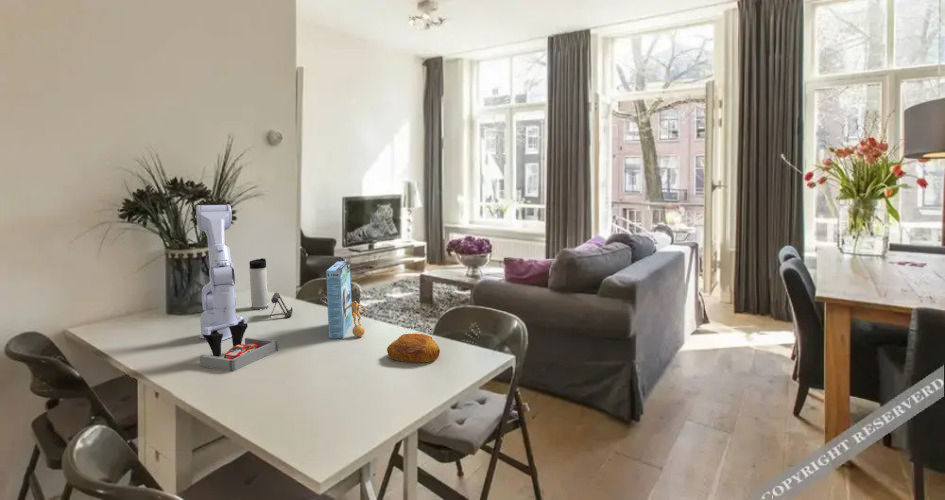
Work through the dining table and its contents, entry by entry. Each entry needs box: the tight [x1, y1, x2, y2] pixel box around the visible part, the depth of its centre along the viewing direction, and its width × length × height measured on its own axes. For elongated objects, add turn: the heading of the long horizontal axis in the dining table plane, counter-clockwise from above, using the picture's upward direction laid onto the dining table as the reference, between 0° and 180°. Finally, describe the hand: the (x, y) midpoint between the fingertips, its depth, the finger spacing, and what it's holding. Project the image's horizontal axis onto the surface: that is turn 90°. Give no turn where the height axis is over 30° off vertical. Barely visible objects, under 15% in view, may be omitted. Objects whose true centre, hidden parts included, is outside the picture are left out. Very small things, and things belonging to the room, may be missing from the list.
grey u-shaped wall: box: [198, 336, 279, 373], centre depth 148 cm, size 12×18×3 cm, turn 161°
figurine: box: [345, 300, 368, 338], centre depth 169 cm, size 8×6×12 cm
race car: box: [223, 343, 259, 359], centre depth 149 cm, size 13×5×4 cm, turn 171°
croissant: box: [386, 333, 441, 363], centre depth 150 cm, size 14×16×8 cm
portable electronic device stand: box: [269, 292, 293, 319], centre depth 193 cm, size 9×8×8 cm
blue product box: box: [325, 260, 353, 339], centre depth 174 cm, size 20×5×23 cm, turn 4°
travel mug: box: [248, 257, 269, 311], centre depth 204 cm, size 6×7×20 cm
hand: (227, 351), depth 149 cm, fingers open, 7 cm apart
